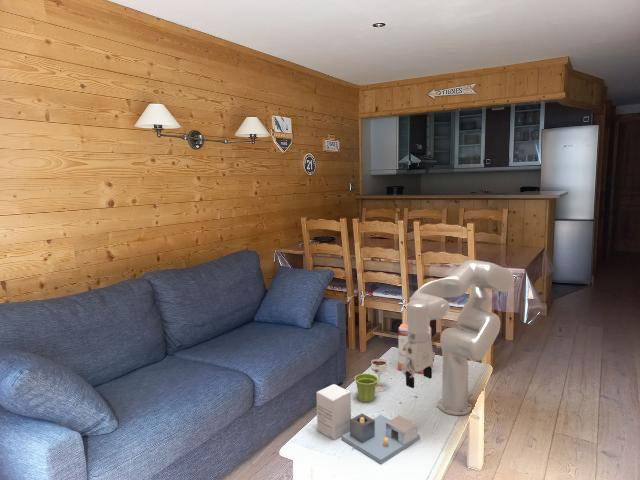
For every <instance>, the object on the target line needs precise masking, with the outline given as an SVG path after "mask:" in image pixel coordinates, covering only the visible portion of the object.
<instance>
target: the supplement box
mask: <svg viewBox="0 0 640 480" xmlns="http://www.w3.org/2000/svg"><path fill="white" fill-rule="evenodd" d="M315 396H316V419H317V421H316V426H317V431H318V432H319V433H322V434H323V435H325V436H326V437H328V438H330V439H332V440H334V441H335V440H337V439H339V438H340V437H342V435H344V434H346V433H348V432H350V419H352V401H351V399H352V398H351V391H350V390H348V389H345V388H343V387H341V386H339V385H337V384H335V383H333V384H331V385H329V386H327V387H324V388H322V389H320V390H318V391H316V395H315Z"/></svg>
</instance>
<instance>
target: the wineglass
mask: <svg viewBox="0 0 640 480" xmlns="http://www.w3.org/2000/svg"><path fill="white" fill-rule="evenodd" d="M370 363H371V366H370V368H371V371H372V372H374V374H376V375H378V376H377V378H378V385H376V388H375V392H379V393H380V392H385V390H386V387H385V386H382V385H381V375H383V374H385V373H386V372H387V370H388V361H387V360H386V359H384V358H375V359H372V360H371V362H370Z"/></svg>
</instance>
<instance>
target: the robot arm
mask: <svg viewBox="0 0 640 480" xmlns="http://www.w3.org/2000/svg"><path fill="white" fill-rule="evenodd" d="M514 284H515V277H514V275H513V273H512V272H511V271H510V270H509V269H506V268H504V267H502V266H501V265H498V264H496V263H493V262H489V261H483V260H478V259H477V260H476V259H468V260H465V261H464V262H463V263H461V264H460V265H459V266H458V267H457V268H455V269H454V271H451V273H450V274H449V275H448V276H446V277H442V278H438V279H436V280H433V281H429V282H427V283H424V284H422V286H420V287H419V288H418V289H416V290H415V292H414V293H413V294H412V295H411V296H410V298H409V301H408V303H407V305H406V313H407V314H406V315H407V316H406V317H407V318H406V319H407V320H406V321H407V322H406V323H407V327H408V338H407V339H408V341H407V347H406V362H405V363H404V365H403V366H402V367H401V369H402V370H401V372H402V374H403V375H404V376H405V386H406V387H408V388H410V389H414V388H415V377H414V375H415V371H416V372H419V371H421V370H423V374H422V375H423V376H424V378H427V379H432V378H433V376H432V375H433V371H432V370H433V367H434V361H435V356H436V352H435V351H434V348H433V343H432V337H431V338H430V327H431V326H430V325H431V324H430V323H431V321H435V320H441V319H443V318H445V317H447V315H448V314H449V313H450V309H451V307H450V303H449V302H448V301H447V299H445V298H456V297H457V298H458V297H461V296H463V295H465V293H467V291H468V290H470V295H469V297H468V300H467V302H466V303H465V304H464V306H463V308H462V309H461V311H460V313H458V316H457V318H456V324H457V326H458V328H457V327H447V328H445V329H444V330H443V331H442V333H441V334H440V340H439V341H440V342H439V343H440V348H441V353H442V375H441V376H442V377H441V379H442V381H441V382H442V383H441V384H442V385H441V387H442V389H441V391H442V392H441V398H439V400H438V402H437V407H438V408H439V410H441V412H444V414H445V413H446V414H448V415H451V416H453V415H454V416H465V415H468V414H470V413H471V412H472V404H471V403H470V402H469V398H470V397H472V396H473V394H474V393H473V392H472V391H471V390H469V368H470V367H469V366H470V365H469V361H468V360H471V361H474V362H479V361H482V360H483V359H484V358H485V357H486V356H487V354H488V352H489V351H490V349H491V348H492V346H493V343H494V342H495V340H496V339H497V336H498V335H499V332H500V329H501V318H500V317H499V315H498V314H496V313H494V312H493V311H492V312H491V311H489V310H490V309H491V306H492V300H491V297H490V295H489V293H488V292H489V291H488V290H492V291H497V292H501V293H506V292H508V291H510V290H511V289H512V288H513V286H514ZM411 367H412V368H411ZM410 370H412V372H409V371H410Z"/></svg>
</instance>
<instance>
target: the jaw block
mask: <svg viewBox="0 0 640 480" xmlns="http://www.w3.org/2000/svg"><path fill="white" fill-rule="evenodd" d="M361 417H363V418H364V423H360V418H361ZM373 419H374V418H372V417H369V416H367V415H366V414H364V413H360V414H358V415H356V416H354V417H351V419H350V431H349V432H350V436H351V437H353V438H355V439H356V440H358V441H359V442H361V443H364V442H366V441H368V440H369V439H371V438H373V437H375V420H373Z"/></svg>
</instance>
